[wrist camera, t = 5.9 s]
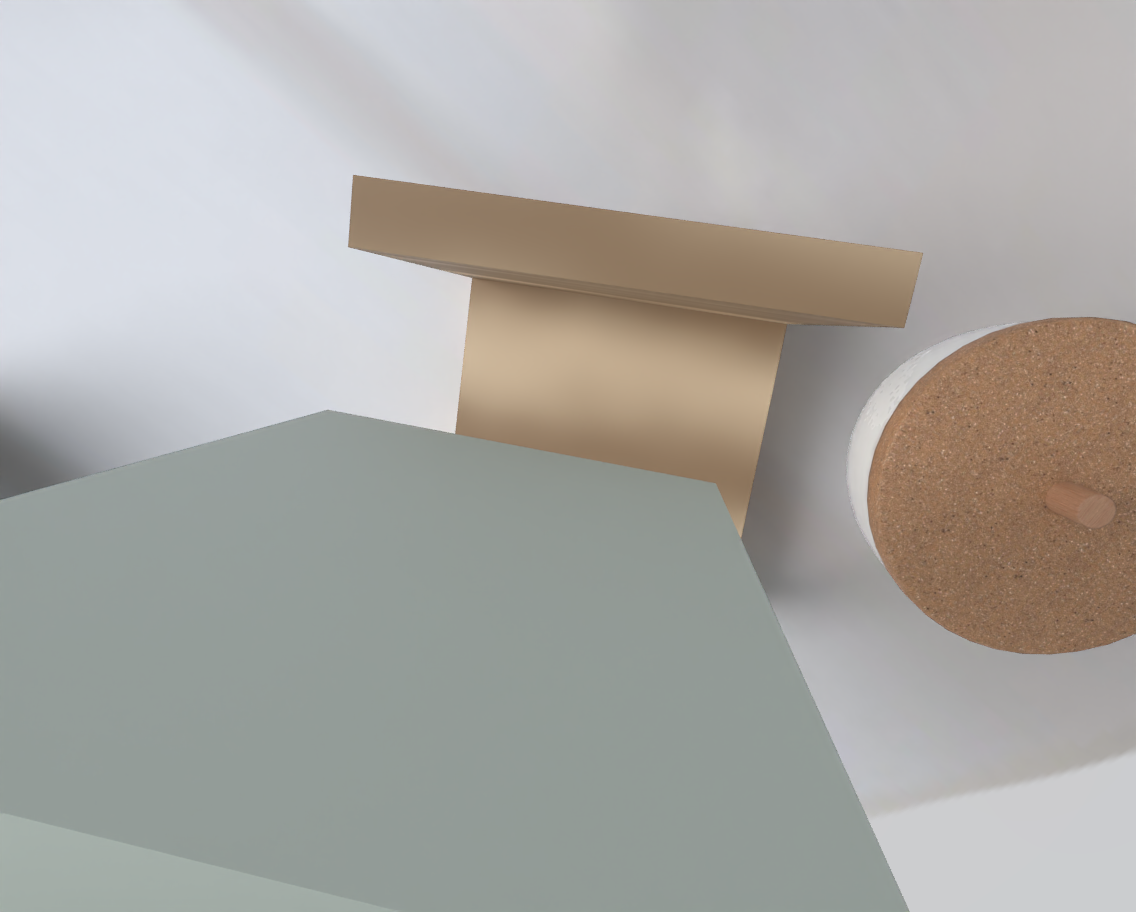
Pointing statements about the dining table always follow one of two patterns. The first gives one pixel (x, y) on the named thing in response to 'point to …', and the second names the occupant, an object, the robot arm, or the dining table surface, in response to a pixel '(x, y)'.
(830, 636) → the dining table surface
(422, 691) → the cabinet block
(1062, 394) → the lidded jar
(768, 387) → the wooden stand
